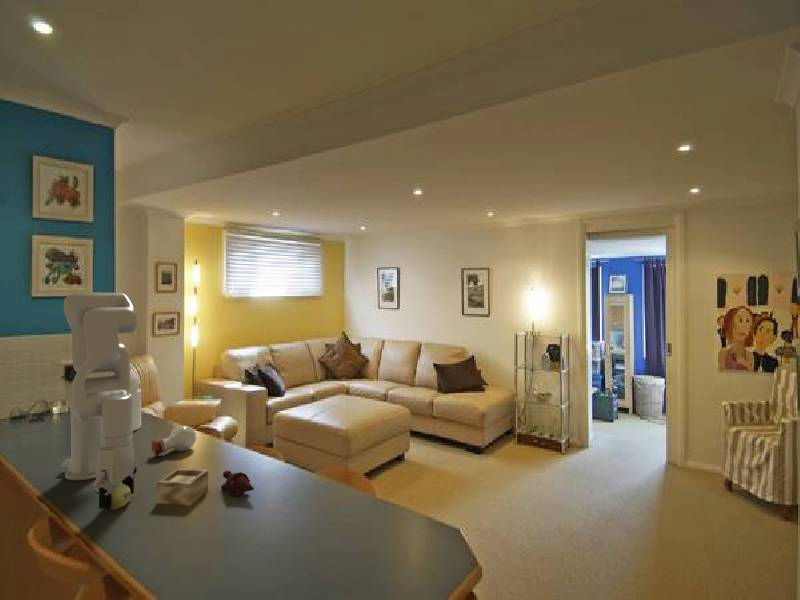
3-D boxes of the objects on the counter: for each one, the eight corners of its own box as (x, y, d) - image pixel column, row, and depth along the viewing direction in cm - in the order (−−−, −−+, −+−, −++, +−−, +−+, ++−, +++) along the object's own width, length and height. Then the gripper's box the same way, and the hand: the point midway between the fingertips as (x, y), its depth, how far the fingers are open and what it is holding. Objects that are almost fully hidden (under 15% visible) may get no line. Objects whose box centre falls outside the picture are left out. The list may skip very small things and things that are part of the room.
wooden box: (157, 503, 131) (157, 481, 131) (177, 488, 141) (177, 468, 141) (190, 505, 131) (190, 483, 130) (208, 490, 141) (208, 470, 140)
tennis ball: (122, 487, 126) (132, 477, 133) (96, 492, 125) (108, 481, 132) (126, 510, 127) (136, 498, 133) (100, 515, 126) (111, 503, 132)
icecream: (265, 475, 137) (235, 467, 146) (244, 476, 131) (214, 468, 140) (261, 500, 135) (231, 491, 144) (240, 502, 129) (210, 493, 138)
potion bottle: (198, 450, 178) (159, 466, 166) (186, 432, 182) (147, 446, 170) (203, 435, 174) (164, 450, 162) (191, 416, 178) (151, 430, 166)
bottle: (128, 434, 191) (129, 367, 190) (96, 433, 191) (96, 367, 191) (147, 424, 205) (148, 362, 204) (117, 424, 205) (117, 361, 205)
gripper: (125, 429, 138) (125, 486, 138) (80, 449, 121) (80, 514, 121) (149, 430, 137) (149, 488, 138) (107, 451, 120) (107, 516, 120)
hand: (117, 500), depth 129 cm, fingers open, 8 cm apart
